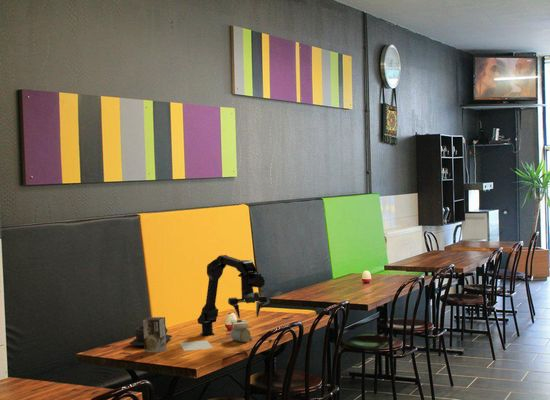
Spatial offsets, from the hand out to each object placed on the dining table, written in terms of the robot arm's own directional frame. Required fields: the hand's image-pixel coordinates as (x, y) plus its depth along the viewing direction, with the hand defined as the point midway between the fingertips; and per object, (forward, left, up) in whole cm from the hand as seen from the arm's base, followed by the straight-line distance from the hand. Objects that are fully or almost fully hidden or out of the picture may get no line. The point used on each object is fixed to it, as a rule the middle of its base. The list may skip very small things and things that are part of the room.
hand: (248, 317), depth 367 cm
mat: (-4, -26, -13) cm, 29 cm away
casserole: (-21, -46, -13) cm, 52 cm away
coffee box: (-2, -46, -13) cm, 48 cm away
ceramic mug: (-7, -2, -13) cm, 15 cm away
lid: (-6, -3, -5) cm, 9 cm away
